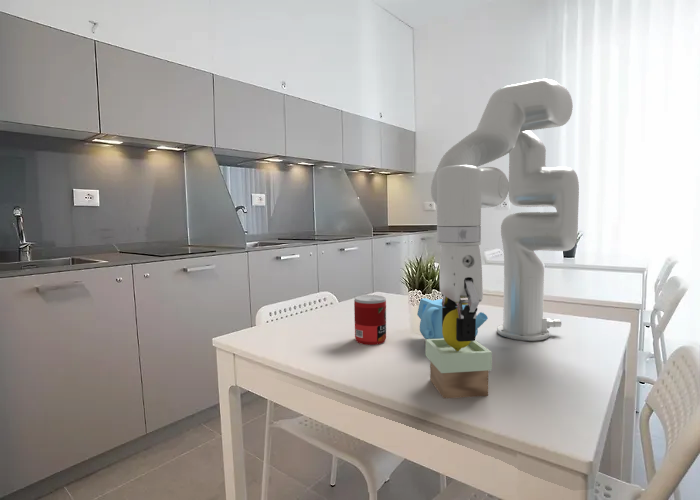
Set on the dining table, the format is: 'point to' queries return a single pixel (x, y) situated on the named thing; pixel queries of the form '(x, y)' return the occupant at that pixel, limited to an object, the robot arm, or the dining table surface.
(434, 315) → the teapot
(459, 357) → the sage top block
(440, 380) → the walnut block
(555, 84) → the robot arm
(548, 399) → the dining table surface
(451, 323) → the lemon
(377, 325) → the canned food
